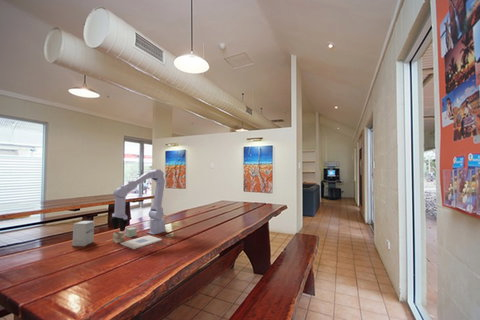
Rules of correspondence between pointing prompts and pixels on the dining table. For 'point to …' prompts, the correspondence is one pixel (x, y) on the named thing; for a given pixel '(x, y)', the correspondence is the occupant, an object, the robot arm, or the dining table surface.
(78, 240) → the supplement box
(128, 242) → the white flat slab
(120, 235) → the maple block
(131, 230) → the sage block
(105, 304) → the dining table surface
